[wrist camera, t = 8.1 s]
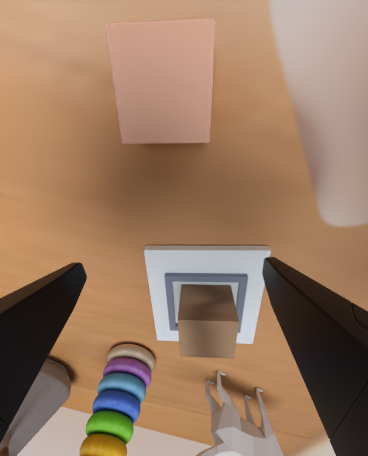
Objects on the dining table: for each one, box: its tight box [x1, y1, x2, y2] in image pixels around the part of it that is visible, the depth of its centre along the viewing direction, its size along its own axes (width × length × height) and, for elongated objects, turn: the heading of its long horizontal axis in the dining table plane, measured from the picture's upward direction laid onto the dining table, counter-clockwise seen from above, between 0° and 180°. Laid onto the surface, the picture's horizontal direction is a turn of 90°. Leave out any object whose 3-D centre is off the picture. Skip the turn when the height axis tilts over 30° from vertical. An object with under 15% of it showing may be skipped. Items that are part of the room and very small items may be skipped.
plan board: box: [144, 245, 271, 344], centre depth 24 cm, size 14×16×2 cm
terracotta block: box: [105, 18, 216, 144], centre depth 14 cm, size 6×6×5 cm
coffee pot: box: [0, 359, 71, 456], centre depth 27 cm, size 21×12×15 cm, turn 139°
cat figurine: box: [196, 371, 283, 456], centre depth 28 cm, size 4×20×14 cm, turn 59°
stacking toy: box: [80, 344, 155, 456], centre depth 24 cm, size 8×8×19 cm
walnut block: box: [178, 284, 239, 359], centre depth 22 cm, size 6×6×5 cm
